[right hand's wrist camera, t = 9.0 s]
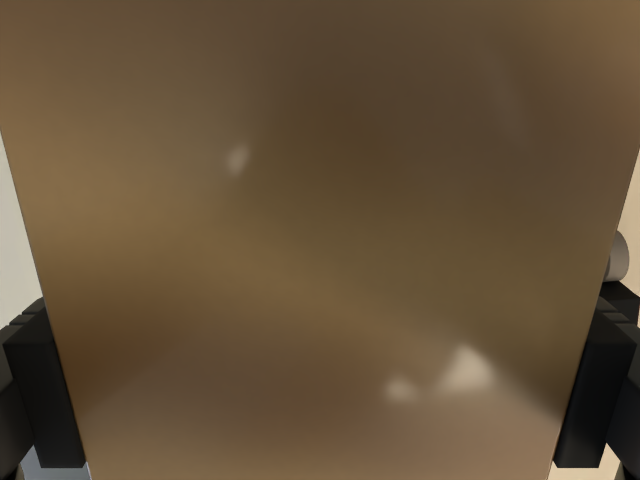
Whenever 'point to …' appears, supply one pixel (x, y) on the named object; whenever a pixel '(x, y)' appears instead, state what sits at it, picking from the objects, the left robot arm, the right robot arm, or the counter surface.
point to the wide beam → (320, 225)
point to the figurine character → (613, 287)
